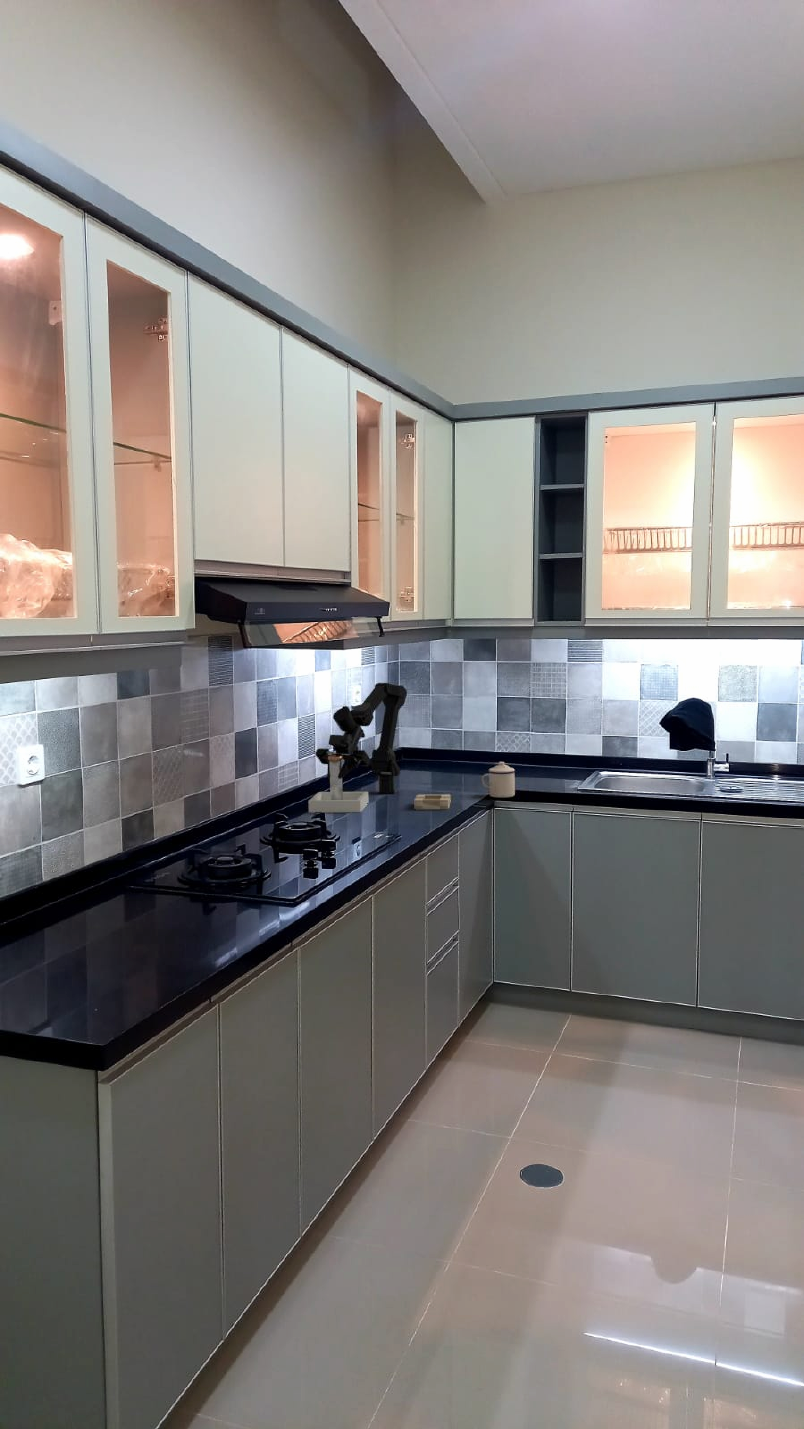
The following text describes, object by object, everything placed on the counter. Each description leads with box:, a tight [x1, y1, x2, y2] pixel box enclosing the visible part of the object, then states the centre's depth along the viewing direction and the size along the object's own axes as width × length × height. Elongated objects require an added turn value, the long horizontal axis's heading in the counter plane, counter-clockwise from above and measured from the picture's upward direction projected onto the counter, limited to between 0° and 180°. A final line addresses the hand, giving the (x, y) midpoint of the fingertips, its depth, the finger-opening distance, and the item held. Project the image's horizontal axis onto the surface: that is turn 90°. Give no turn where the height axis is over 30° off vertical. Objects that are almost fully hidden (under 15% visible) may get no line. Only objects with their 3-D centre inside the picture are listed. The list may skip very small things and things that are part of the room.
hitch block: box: [413, 793, 451, 811], centre depth 334 cm, size 11×11×3 cm
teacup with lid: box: [481, 761, 516, 799], centre depth 350 cm, size 12×9×12 cm
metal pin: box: [328, 755, 344, 800], centre depth 334 cm, size 5×5×15 cm
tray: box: [308, 791, 369, 813], centre depth 336 cm, size 17×17×4 cm
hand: (333, 777), depth 333 cm, fingers closed on metal pin, 4 cm apart
